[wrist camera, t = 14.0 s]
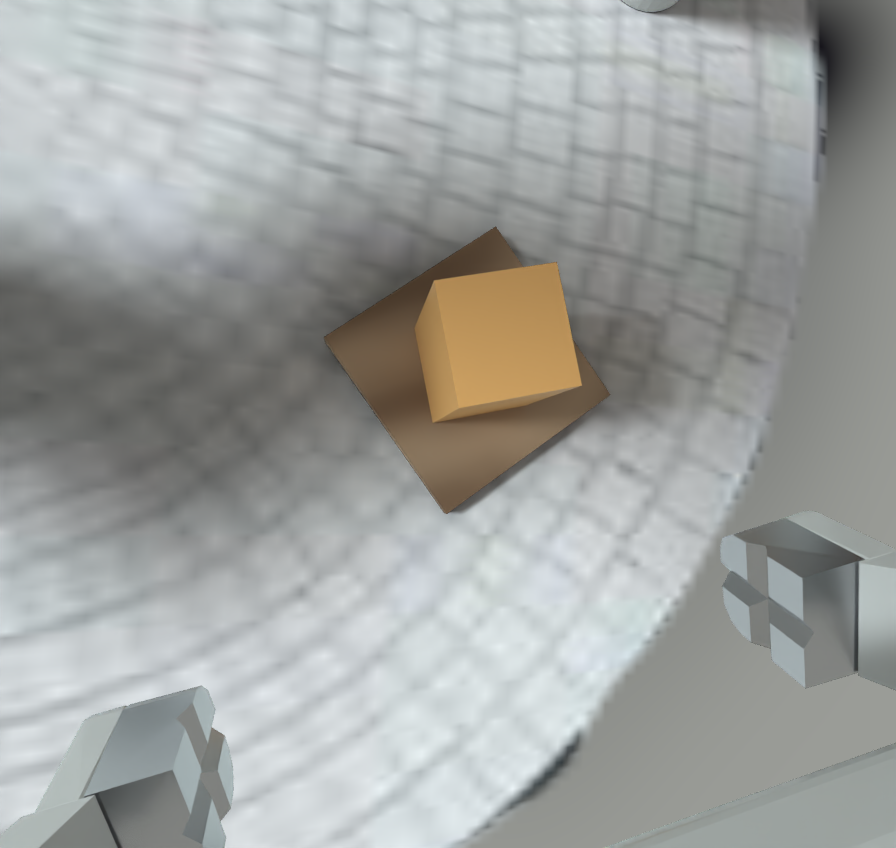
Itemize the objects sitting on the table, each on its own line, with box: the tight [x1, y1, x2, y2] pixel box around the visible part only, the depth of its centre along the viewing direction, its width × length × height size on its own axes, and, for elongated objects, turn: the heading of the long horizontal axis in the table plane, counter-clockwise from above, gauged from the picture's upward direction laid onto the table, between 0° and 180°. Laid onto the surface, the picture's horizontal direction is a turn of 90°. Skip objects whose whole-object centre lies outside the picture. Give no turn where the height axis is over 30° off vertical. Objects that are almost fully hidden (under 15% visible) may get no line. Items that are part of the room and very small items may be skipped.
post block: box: [324, 227, 610, 514], centre depth 33 cm, size 12×12×6 cm
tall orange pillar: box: [414, 262, 582, 423], centre depth 30 cm, size 6×6×9 cm
